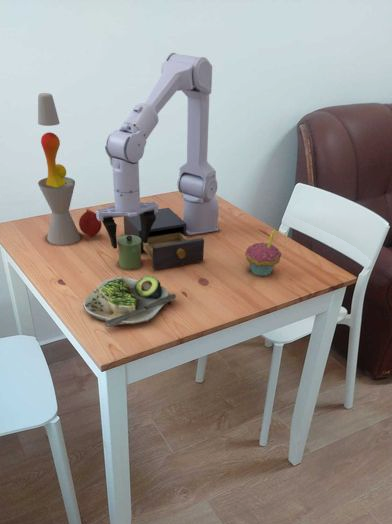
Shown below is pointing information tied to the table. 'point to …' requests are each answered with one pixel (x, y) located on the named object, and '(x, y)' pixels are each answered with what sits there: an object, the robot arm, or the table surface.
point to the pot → (129, 251)
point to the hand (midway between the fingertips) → (129, 244)
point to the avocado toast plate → (127, 300)
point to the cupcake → (263, 257)
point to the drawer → (173, 250)
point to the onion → (89, 223)
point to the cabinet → (156, 224)
